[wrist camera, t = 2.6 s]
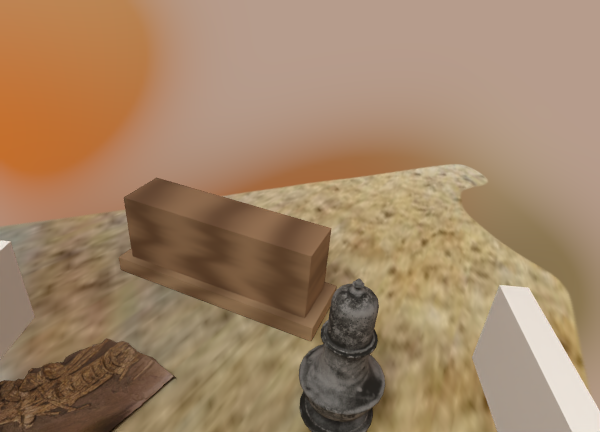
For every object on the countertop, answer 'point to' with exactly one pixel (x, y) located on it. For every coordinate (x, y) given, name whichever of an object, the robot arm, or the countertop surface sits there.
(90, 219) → the countertop surface
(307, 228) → the ridge
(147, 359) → the wooden fragment
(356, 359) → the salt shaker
